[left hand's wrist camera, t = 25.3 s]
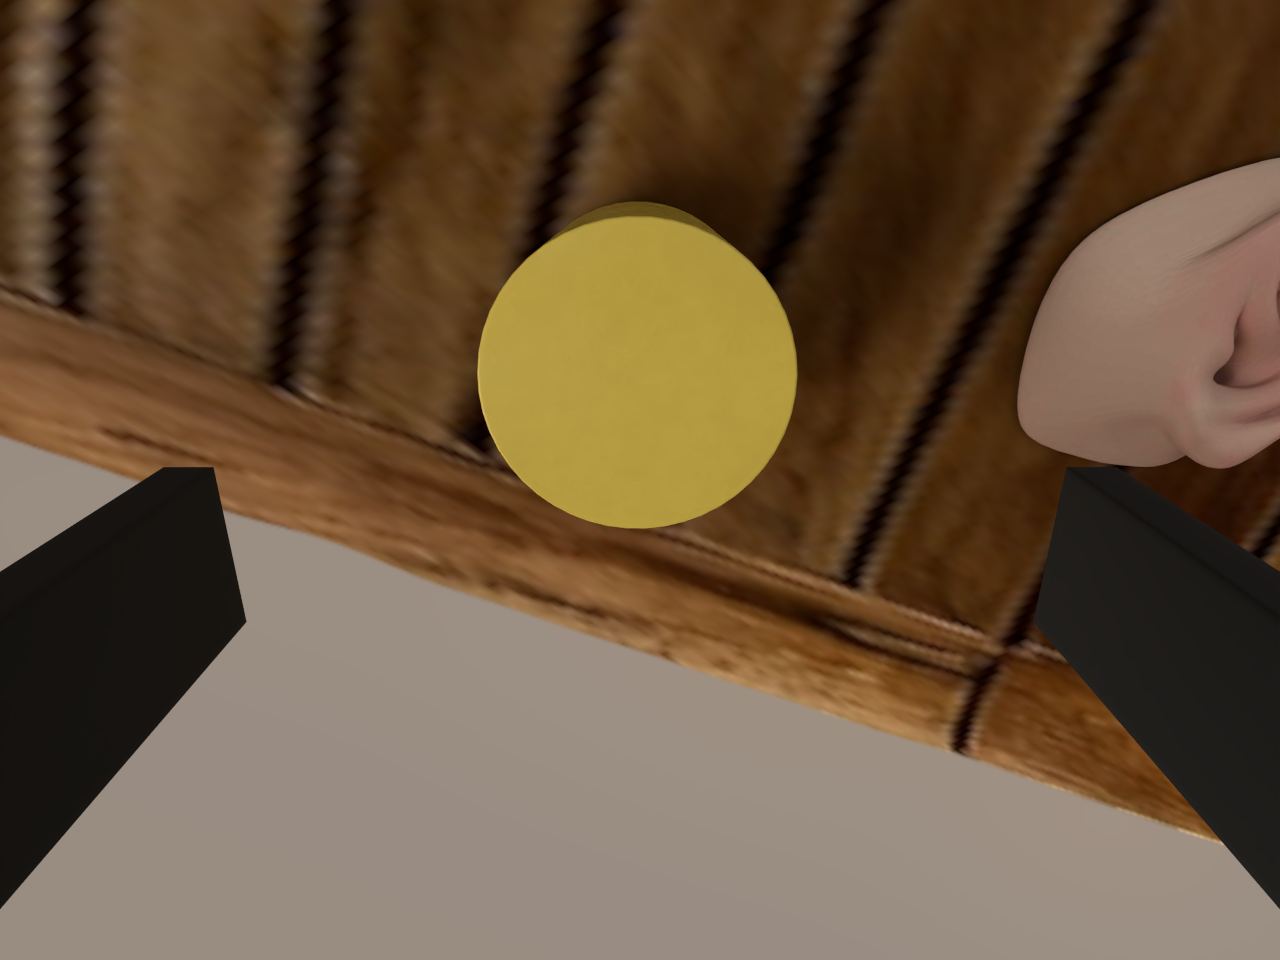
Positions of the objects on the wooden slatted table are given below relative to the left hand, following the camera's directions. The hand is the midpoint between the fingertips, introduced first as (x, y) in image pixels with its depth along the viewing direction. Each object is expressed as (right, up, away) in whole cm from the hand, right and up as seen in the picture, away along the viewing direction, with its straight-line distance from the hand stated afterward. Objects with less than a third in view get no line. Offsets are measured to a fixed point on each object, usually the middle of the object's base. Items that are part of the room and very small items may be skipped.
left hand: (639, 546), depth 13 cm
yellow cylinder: (0, +7, +19) cm, 20 cm away
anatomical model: (+22, +7, +19) cm, 30 cm away
